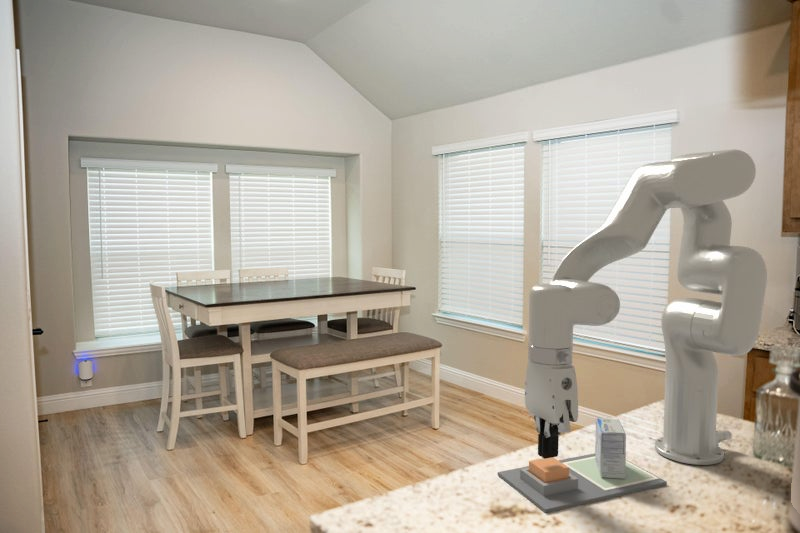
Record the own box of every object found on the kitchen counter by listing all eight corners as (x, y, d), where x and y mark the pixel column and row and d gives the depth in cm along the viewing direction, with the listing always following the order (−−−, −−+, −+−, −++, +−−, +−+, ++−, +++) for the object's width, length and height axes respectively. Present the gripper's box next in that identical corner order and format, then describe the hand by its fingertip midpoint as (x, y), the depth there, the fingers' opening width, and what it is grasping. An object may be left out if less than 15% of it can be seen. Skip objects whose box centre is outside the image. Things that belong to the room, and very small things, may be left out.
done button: (551, 469, 108) (552, 456, 108) (568, 480, 104) (569, 467, 103) (528, 473, 106) (528, 461, 106) (545, 485, 102) (545, 472, 102)
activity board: (608, 453, 119) (609, 442, 119) (666, 484, 105) (667, 472, 105) (497, 475, 110) (497, 462, 110) (545, 512, 96) (545, 498, 96)
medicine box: (625, 480, 106) (626, 433, 105) (599, 478, 107) (600, 432, 106) (618, 462, 114) (619, 418, 113) (594, 460, 114) (595, 417, 114)
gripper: (596, 362, 97) (593, 469, 99) (542, 344, 111) (541, 438, 113) (558, 367, 95) (556, 476, 96) (508, 347, 108) (507, 443, 110)
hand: (547, 455), depth 105 cm, fingers closed
